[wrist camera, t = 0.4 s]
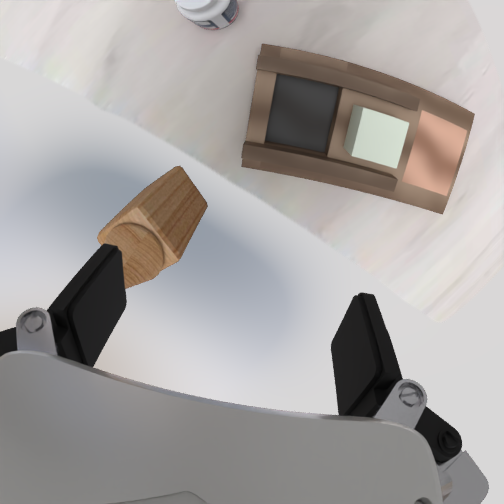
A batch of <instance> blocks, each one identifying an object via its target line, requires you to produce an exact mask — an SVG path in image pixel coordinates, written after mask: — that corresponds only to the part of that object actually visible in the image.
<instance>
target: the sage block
mask: <svg viewBox="0 0 504 504" xmlns="http://www.w3.org/2000/svg"><path fill="white" fill-rule="evenodd" d="M408 126H409V123H408V122H406V121H403V120H400V119H398V118H395V117H392V116H389V115H386V114H383V113H380V112H377V111H374V110H371V109H367V108H364V107H361V106H357V105H353V109H352V114H351V118H350V122H349V126H348V131H347V135H346V139H345V143H344V147H343V148H344V149H345V150H346V151H347V152H348V153H349V154H350V155H351V156H353V157H357V158H361V159H365V160H368V161H372V162H375V163H379V164H382V165H386V166H389V167H392V168H395V169H397V165H398V162H399V159H400V155H401V152H402V148H403V145H404V141H405V138H406V134H407V130H408Z"/></svg>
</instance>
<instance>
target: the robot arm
mask: <svg viewBox="0 0 504 504" xmlns="http://www.w3.org/2000/svg"><path fill="white" fill-rule="evenodd" d="M126 302H127V301H126V292H125V282H124V272H123V259H122V251H121V250H119V248H118V246H116V245H111V244H106V243H104V244H103V245H102V246H101V247H100V248H99V249H98V250H97V251H96V252H95V253H94V254H93V256H92V257H91V258H90V259H89V260H88V261H87V262H86V264H85V265H84V266H83V267H82V268H81V269H80V271H79V272H78V273H77V274H76V275H75V276H74V277H73V279H72V280H71V281H70V282H69V283H68V285H67V286H66V287H65V288H64V290H63V291H62V292H61V293H60V294H59V296H58V297H57V298H56V299H55V301H54V302H53V303H52V304H51V306H50V307H49V309H48V310H47V311H46V310H44V309H42V308H37V307H36V308H30V309H28V310H26V311H24V312H23V313H22V314H21V315H20V316H19V317H18V319H17V323H16V327H14V328H11V329H8V330H5V331H1V332H0V504H480V503H481V502H482V501H483V500H484V498H485V497H486V495H487V493H488V489H489V485H488V481H487V479H486V477H485V476H484V475H483V473H482V472H481V470H480V469H479V468H478V466H477V465H476V464H475V462H474V461H473V460H472V458H471V457H470V456H469V454H468V453H467V451H464V452H462V450H461V448H462V440H461V436H460V435H459V433H458V431H457V430H456V429H455V428H453V427H452V426H451V425H449V424H448V423H447V422H446V421H444V420H443V419H442V418H440V417H439V416H438V415H437V414H435V413H434V412H432V411H431V410H430V409H429V408H428V407H426V403H427V395H426V392H425V390H424V389H423V387H422V386H421V385H420V384H418V383H417V382H415V381H413V380H410V379H403V378H402V375H401V372H400V368H399V365H398V361H397V358H396V355H395V352H394V349H393V345H392V342H391V339H390V336H389V333H388V331H387V329H386V327H385V324H384V321H383V318H382V315H381V312H380V309H379V307H378V304H377V301H376V298H375V296H374V295H373V294H367V293H359V294H358V296H357V295H355V296H354V297H353V299H352V301H351V304H350V306H349V308H348V310H347V312H346V314H345V316H344V318H343V320H342V322H341V324H340V326H339V328H338V331H337V332H336V334H335V337H334V338H333V340H332V344H331V353H332V361H333V368H334V377H335V385H336V394H337V403H338V413H339V415H325V414H314V413H302V412H292V411H283V410H274V409H267V408H259V407H253V406H246V405H240V404H234V403H228V402H222V401H217V400H212V399H207V398H202V397H197V396H193V395H188V394H184V393H180V392H175V391H171V390H167V389H163V388H159V387H155V386H151V385H148V384H144V383H141V382H137V381H134V380H131V379H127V378H124V377H121V376H118V375H114V374H111V373H108V372H105V371H102V370H99V369H96V368H93V366H94V364H95V362H96V361H97V359H98V357H99V355H100V353H101V351H102V349H103V347H104V346H105V344H106V342H107V340H108V338H109V336H110V334H111V333H112V331H113V329H114V327H115V326H116V324H117V322H118V320H119V319H120V317H121V315H122V313H123V312H124V310H125V307H126Z"/></svg>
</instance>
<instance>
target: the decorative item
mask: <svg viewBox="0 0 504 504" xmlns="http://www.w3.org/2000/svg"><path fill="white" fill-rule="evenodd" d="M207 207H208V206H207V202H206V201H205V199H204V198H203V196H202V195H201V194H200V192H199V191H198V189H197V188H196V186H195V185H194V184H193V182H192V181H191V179H190V178H189V177H188V175H187V174H186V172H185V171H184V169H183V168H182V167H180V166H177V167H174V168H173V169H172V170H170V171H168V172H167V173H166V174H164V175H163V176H161V177H160V178H159V179H157V180H156V181H154V182H153V183H152V184H150V185H149V186H147V187H146V188H145V189H144V190H143V191H142V192H140V193H139V194H138V195H137V196H136V197H135V198H134V199H133V200H132V201H131V202H130V203H128V204H127V205H126V206H125V207H124V208H123V209H122V210H121V211H120V212H119V213H118V214H117V215H116V216H115V217H114V218H113V219H112V220H111V221H110V222H109V223H108V224H107V225H106V226H105V227H104V228H103V229H102V230H101V231H100V232H99V234H98V237H97V239H98V242H99V243H100V244H101V245H103V244H104V243H106V244H111V245H116V246H118V248H119V250H121V251H122V259H123V272H124V282H125V289H126V288H129V287H132V286H134V285H138V284H140V283H143V282H146V281H149V280H152V279H153V278H155V277H156V276H157V275H158V274H159V272H160V271H162V270H163V269H165V268H167V267H169V266H171V265H173V264H174V263H176V262H178V261H179V259H180V258H181V257H182V255H183V253H184V250H185V249H186V247H187V245H188V243H189V240H190V239H191V237H192V235H193V233H194V231H195V229H196V227H197V225H198V223H199V222H200V220H201V218H202V216H203V214H204V212H205V210H206V209H207Z"/></svg>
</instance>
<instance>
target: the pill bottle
mask: <svg viewBox="0 0 504 504" xmlns="http://www.w3.org/2000/svg"><path fill="white" fill-rule="evenodd" d="M174 1H175V2H176V4H177V8H178V10H179V12H180V13H181V14H182V15H183V16H184V17H186V18H187V19H189V20H190V21H192V22H194V23H195V24H197V25H198V26H200V27H202V28H204V29H208V30H217V29H221V28H224V27H226V26H228V25H229V24H231V23H232V22H233V21H234V20H235V18H236V17H237V15H238V10H239V6H238V3H237V0H174Z"/></svg>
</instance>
